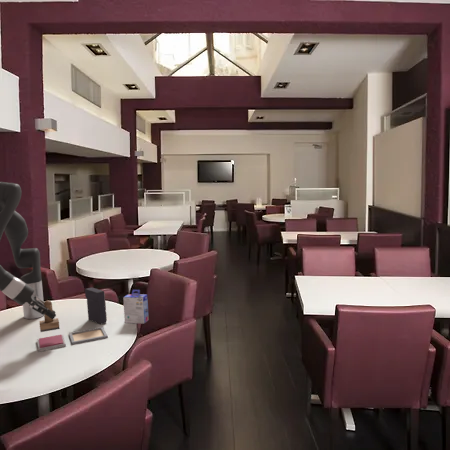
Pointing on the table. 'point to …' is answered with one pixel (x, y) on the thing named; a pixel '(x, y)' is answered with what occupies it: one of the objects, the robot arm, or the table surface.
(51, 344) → the ink pad
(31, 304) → the robot arm
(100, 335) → the grey flat frame
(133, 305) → the ink cartridge box
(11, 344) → the table surface
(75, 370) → the table surface
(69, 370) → the table surface
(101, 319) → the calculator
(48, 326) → the wooden stamp
